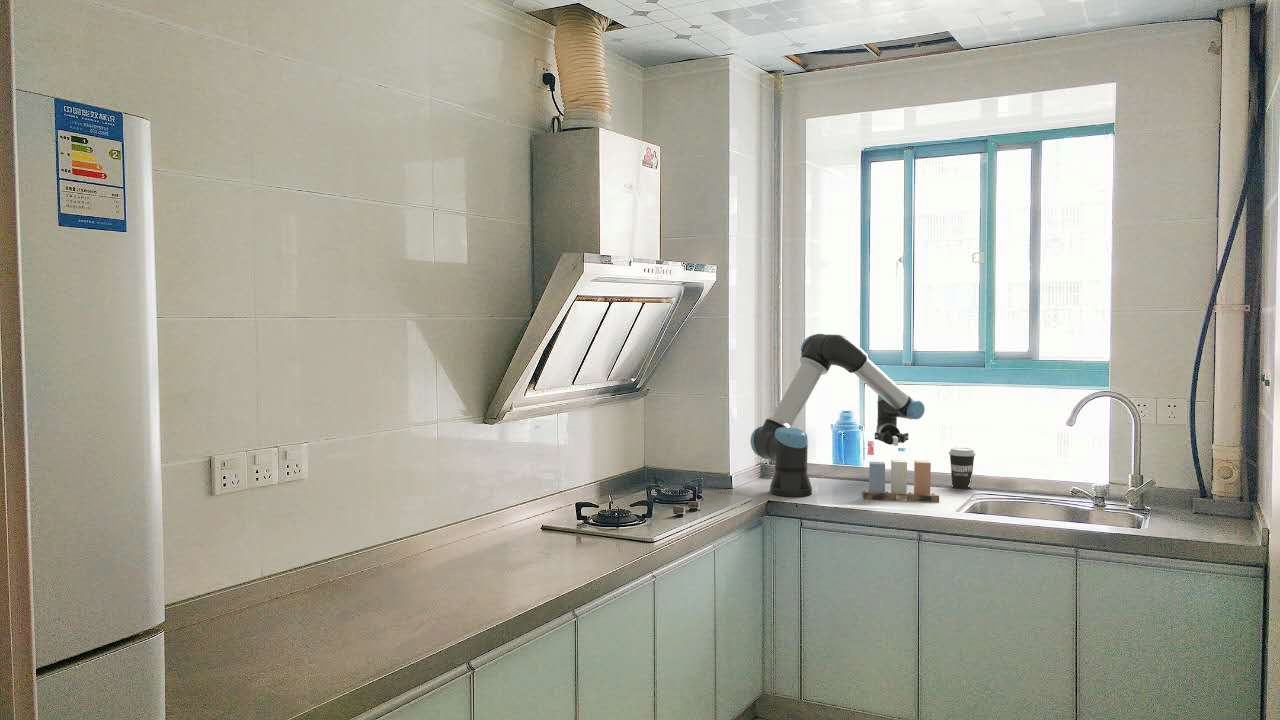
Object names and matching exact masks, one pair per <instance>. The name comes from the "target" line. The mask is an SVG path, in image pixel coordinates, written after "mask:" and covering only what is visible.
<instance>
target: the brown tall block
mask: <svg viewBox="0 0 1280 720" xmlns="http://www.w3.org/2000/svg"><path fill="white" fill-rule="evenodd" d="M913 462H914V464H913V465H914V466H913V470H914V471H913V493H914V494H922V495H930V494H931V479H932V478H931V471H932V470H931V469H932V466H931V465H932V464H931V463H932V462H930V461H929V460H919V459H918V460H916V459H914V461H913Z"/></svg>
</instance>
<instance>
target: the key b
mask: <svg viewBox="0 0 1280 720" xmlns="http://www.w3.org/2000/svg"><path fill="white" fill-rule="evenodd" d="M890 462H891V463H890V492H891V493H895V494H907V493H908V492H907V491H908V461H907V460H906V459H890Z"/></svg>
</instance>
